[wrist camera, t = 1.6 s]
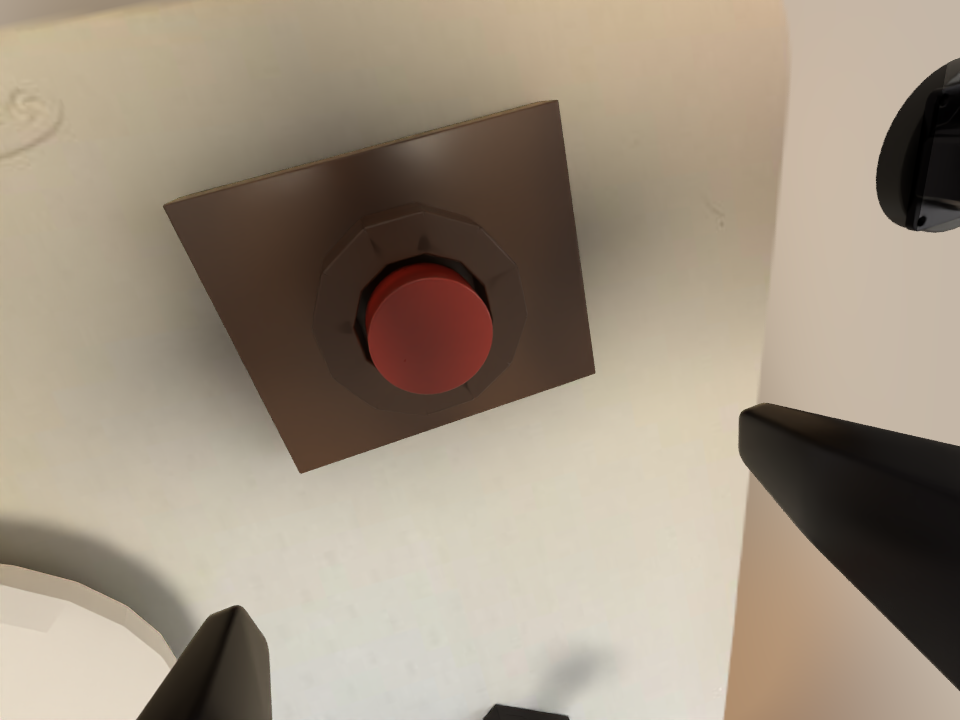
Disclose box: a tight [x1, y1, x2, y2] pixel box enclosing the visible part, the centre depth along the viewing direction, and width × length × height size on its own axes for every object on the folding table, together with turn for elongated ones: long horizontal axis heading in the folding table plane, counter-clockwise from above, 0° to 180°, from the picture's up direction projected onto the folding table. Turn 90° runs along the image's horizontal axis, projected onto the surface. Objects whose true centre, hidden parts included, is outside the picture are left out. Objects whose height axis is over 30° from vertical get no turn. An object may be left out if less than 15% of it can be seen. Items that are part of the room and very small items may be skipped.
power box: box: [163, 100, 595, 474], centre depth 17 cm, size 12×10×4 cm
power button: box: [365, 263, 493, 394], centre depth 15 cm, size 4×4×2 cm
